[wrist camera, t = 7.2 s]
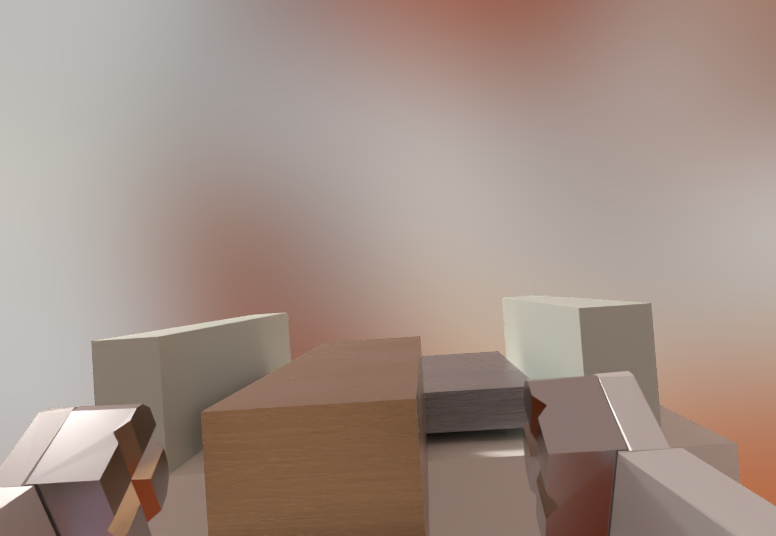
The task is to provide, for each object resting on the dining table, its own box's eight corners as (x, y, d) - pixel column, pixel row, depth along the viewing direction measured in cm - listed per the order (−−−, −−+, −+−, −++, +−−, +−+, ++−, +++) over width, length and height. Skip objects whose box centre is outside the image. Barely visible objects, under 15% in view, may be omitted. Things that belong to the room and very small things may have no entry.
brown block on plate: (289, 391, 26) (285, 328, 26) (500, 377, 26) (495, 314, 26) (-31, 642, 8) (-42, 426, 8) (695, 608, 7) (676, 382, 7)
